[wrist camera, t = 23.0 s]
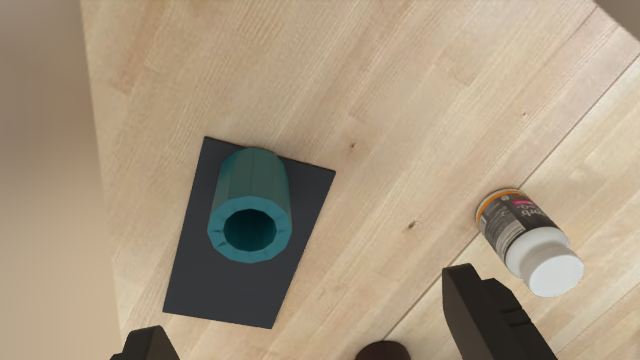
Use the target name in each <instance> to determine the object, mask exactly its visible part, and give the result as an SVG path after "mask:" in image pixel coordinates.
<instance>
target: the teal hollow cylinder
mask: <svg viewBox="0 0 640 360" xmlns="http://www.w3.org/2000/svg"><path fill="white" fill-rule="evenodd" d="M207 232H208V235H209V237H210V240H211V242H212V245H213V247H214V248H215V249H216V250H218V251H219V252H220V253H222V254H223V255H224V256H226V257H227V258H228V259H231V260H235V261H240V262H245V263H255V262H259V261H264V260H269V259H272V258H273V257H274V256H276V255H277V254H278V253H279V252H281V251H282V250H283V249H285V248H286V246H287V243H288V241H289V238H290V236H291V233H292V221H291V208H290V196H289V183H288V176H287V172H286V168H285V165H284V163H283V162H282V161H281V160H280V159H279V158H278V157H277V156H276V155H275V154H274V153H272V152H270V151H266V150H263V149H259V148H255V147H252V148H248V149H243V150H238V151H235V152H234V153H233V154H232V155H230V156H229V157H228V158H227V159H226V160H225V161H224V162H223V163H222V166H221V170H220V174H219V177H218V182H217V187H216V191H215V196H214V201H213V205H212V210H211V214H210V219H209V224H208V228H207Z"/></svg>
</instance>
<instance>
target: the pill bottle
mask: <svg viewBox="0 0 640 360" xmlns="http://www.w3.org/2000/svg"><path fill="white" fill-rule="evenodd" d="M476 223H477V226H478V228H479V229H480V231H481V232H482V234H483V235H484V237H485V238H486V239H487V241H488V242H489V243H490V245H491V246H492V248H493V249H494V250H495V252H496V253H497V255H498V256H499V257H500V259H501V260H502V262H503V263H504V264H505V266H506V267H507V269H508V270H509V271H510V272H511V273H512V274H513V275H514V276H516V277H518V278H520V279H523V281H524V283H525V284H526V285H527V287H528V288H529V289H530V291H531V292H532V293H534V294H535V295H537V296H540V297H546V298H547V297H555V296H559V295H561V294H564V293H566V292H568V291H569V290H571V289H572V288H573V287H575V286H576V285H577V284H578V282H579V281H580V280H581V278H582V276H583V274H584V264H583V262H582V260H581V259H580V258H579V257H578V256H577V255H576V254H575V253H574V252H573V251H572V250H571V249H570V243H569V240H568V238H567V236H566V235H565V234H564V232H563V231H562V230H561V229H560V228H559V227H558V226H557V225H556V224H555V223H554V222H553V221H552V220H551V219H550V218H549V217H548V216H547V215H546V214H545V213H544V212H543V211H542V210H541V209H540V208H539V207H538V206H537V205H536V204H535V203H534V202H533V201H532V200H531V199H530V198H529V197H528V196H527V195H526V194H525V193H523V192H521V191H519V190H516V189H503V190H499V191H496V192H494V193H492V194H491V195H489V196H488V197H487V198H485V199H484V200H483V202H482V203H481V204H480V206H479V208H478V210H477V213H476Z"/></svg>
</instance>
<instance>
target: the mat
mask: <svg viewBox="0 0 640 360" xmlns="http://www.w3.org/2000/svg"><path fill="white" fill-rule="evenodd" d="M243 149H248V148H246V147H243V146H239V145H235V144H231V143H228V142H224V141H220V140H216V139H213V138H209V137H204V141H203V145H202V149H201V153H200V157H199V161H198V166H197V170H196V174H195V178H194V182H193V186H192V191H191V195H190V199H189V203H188V207H187V211H186V215H185V220H184V224H183V228H182V232H181V236H180V240H179V245H178V249H177V253H176V257H175V261H174V265H173V269H172V274H171V278H170V282H169V286H168V290H167V294H166V299H165V303H164V307H163V311H162V312H165V313H171V314H178V315H184V316H190V317H197V318H203V319H209V320H216V321H222V322H228V323H235V324H241V325H247V326H254V327H260V328H266V329H272V327H273V324H274V322H275V319H276V317H277V315H278V312H279V310H280V307H281V305H282V302H283V300H284V298H285V295H286V293H287V290H288V288H289V286H290V283H291V281H292V278H293V276H294V273H295V271H296V269H297V266H298V264H299V261H300V259H301V257H302V254H303V252H304V249H305V247H306V244H307V242H308V240H309V237H310V235H311V232H312V230H313V227H314V225H315V223H316V220H317V218H318V215H319V213H320V211H321V208H322V206H323V203H324V201H325V198H326V196H327V194H328V191H329V189H330V186H331V184H332V182H333V179H334V177H335V174H336V172H335V171H333V170H329V169H325V168H322V167H318V166H314V165H310V164H307V163H303V162H299V161H295V160H292V159H288V158H284V157H280V156H277V155H276V156H277V157H278V158H279V159H280V160H281V161H282V162H283V163H284V165H285V168H286V172H287V176H288V183H289V196H290V208H291V221H292V233H291V236H290V238H289V241H288V243H287V246H286V248H285V249H283V250H282V251H281V252H279V253H278V254H277V255H276V256H274V257H273V258H272V259H269V260H264V261H259V262H255V263H245V262H240V261H235V260H231V259H228V258H227V257H226V256H224V255H223V254H222V253H220V252H219V251H218V250H216V249H215V248H214V247H213V245H212V242H211V240H210V237H209V235H208V232H207V228H208V224H209V219H210V214H211V210H212V205H213V201H214V196H215V191H216V187H217V182H218V177H219V174H220V170H221V166H222V163H223V162H224V161H225V160H226V159H227V158H228V157H229V156H230V155H232V154H233V153H234V152H235V151H238V150H243Z"/></svg>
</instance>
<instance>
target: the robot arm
mask: <svg viewBox="0 0 640 360" xmlns="http://www.w3.org/2000/svg"><path fill="white" fill-rule="evenodd" d="M442 295H443V310H444V315H445V318H446V322H447V324H448V327H449V329H450V331H451V334H452V336H453V338H454V340H455V342H456V345H457V347H458V349H459V351H460V353H461V355H462V358H463V360H558V359H557V358H556V356H555V355H554V353H553V352H552V350H551V349H550V347H549V346H548V344H547V343H546V341H545V340H544V338H543V337H542V336H541V334H540V333H539V331H538V330H537V328H536V327H535V325H534V324H533V323H531V319H530V318H529V316H528V315H527V313H526V312H525V310H523V309H522V306H521V305H520V303H519V302H518V300H517V299H516V297H515V296H514V294H513V293H512V291H511V290H510V289H508V288H507V287H506V286H504V285H503V284H502V283H500V282H499V281H497V280H496V279H495V278H491V279H486V280H481V278H480V277H479V275H478V274H477V272H476V270H475V269H474V267H473V266H472V265H471V264H470V263H466V264H461V265H456V266H451V267H446V268H443V269H442ZM110 360H180V359H179V356H178V355H177V353H176V351H175V349H174V347H173V345H172V344H171V342H170V340H169V338H168V336H167V335H166V333H165V331H164V329H163V328H162V327H161V326H160V325H158V326H153V327H148V328H143V329H138V330H133V331H131V332H130V333H129V335H128V337H127V340H126V342H125V345H124V348H123V351H122V353H119V354H114V355H113V356H112V357H111V359H110Z"/></svg>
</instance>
